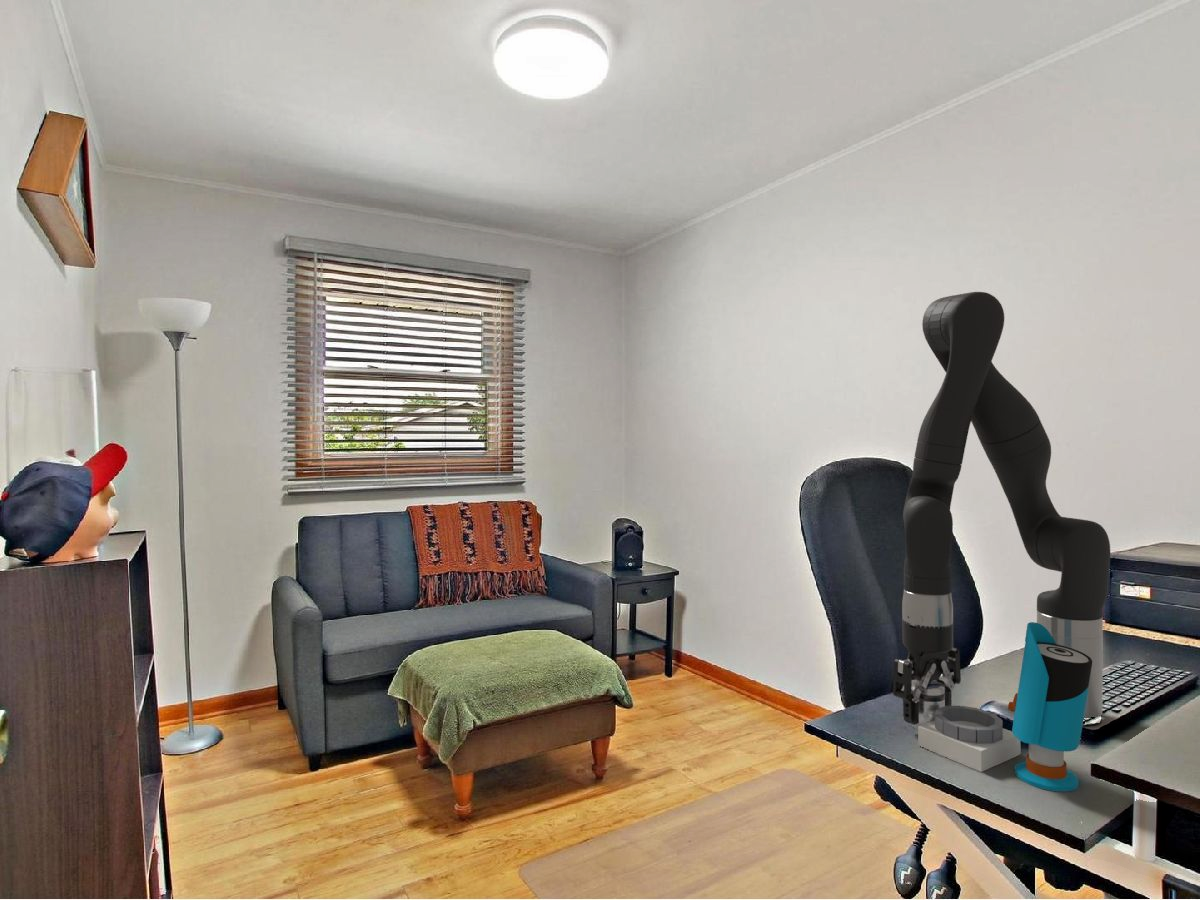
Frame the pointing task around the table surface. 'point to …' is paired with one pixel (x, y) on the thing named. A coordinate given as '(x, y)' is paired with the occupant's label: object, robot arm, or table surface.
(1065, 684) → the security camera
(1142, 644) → the table surface
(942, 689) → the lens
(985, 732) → the mount
